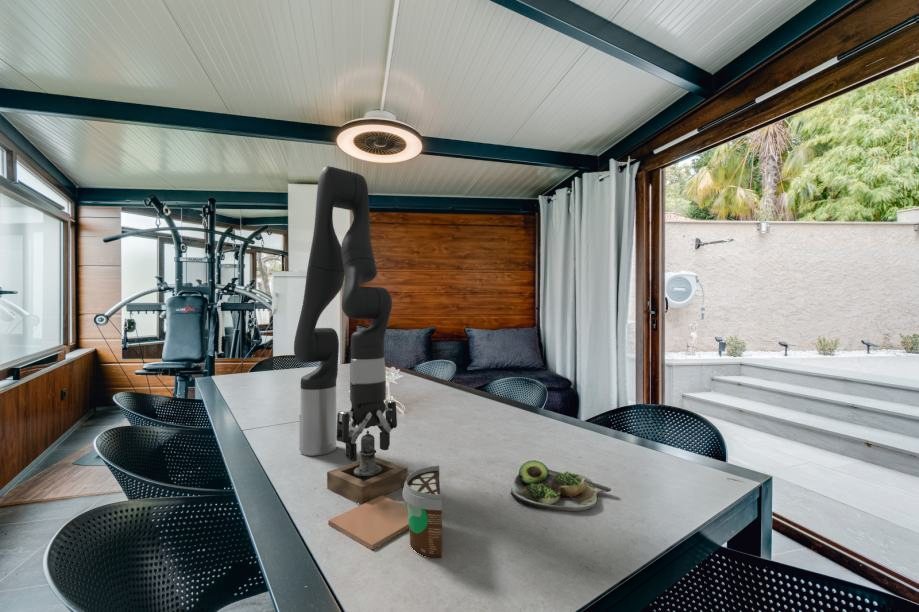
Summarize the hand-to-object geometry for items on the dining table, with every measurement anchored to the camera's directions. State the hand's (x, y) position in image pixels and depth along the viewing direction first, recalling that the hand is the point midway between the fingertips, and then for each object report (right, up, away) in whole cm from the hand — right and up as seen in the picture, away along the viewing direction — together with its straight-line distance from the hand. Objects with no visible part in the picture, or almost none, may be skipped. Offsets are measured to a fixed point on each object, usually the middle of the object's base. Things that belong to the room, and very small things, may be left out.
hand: (368, 455), depth 84 cm
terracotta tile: (+5, -6, -14) cm, 16 cm away
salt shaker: (0, -7, 0) cm, 7 cm away
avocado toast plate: (+39, -7, -3) cm, 39 cm away
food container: (+13, -6, -21) cm, 25 cm away
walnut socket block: (0, -7, 0) cm, 7 cm away
